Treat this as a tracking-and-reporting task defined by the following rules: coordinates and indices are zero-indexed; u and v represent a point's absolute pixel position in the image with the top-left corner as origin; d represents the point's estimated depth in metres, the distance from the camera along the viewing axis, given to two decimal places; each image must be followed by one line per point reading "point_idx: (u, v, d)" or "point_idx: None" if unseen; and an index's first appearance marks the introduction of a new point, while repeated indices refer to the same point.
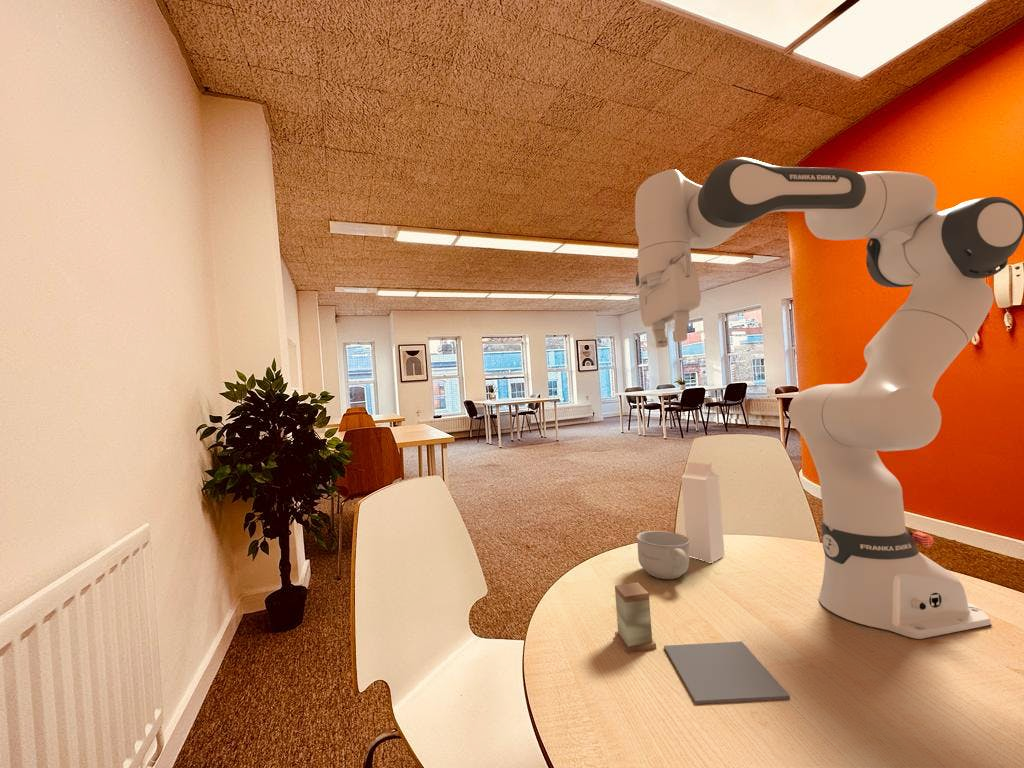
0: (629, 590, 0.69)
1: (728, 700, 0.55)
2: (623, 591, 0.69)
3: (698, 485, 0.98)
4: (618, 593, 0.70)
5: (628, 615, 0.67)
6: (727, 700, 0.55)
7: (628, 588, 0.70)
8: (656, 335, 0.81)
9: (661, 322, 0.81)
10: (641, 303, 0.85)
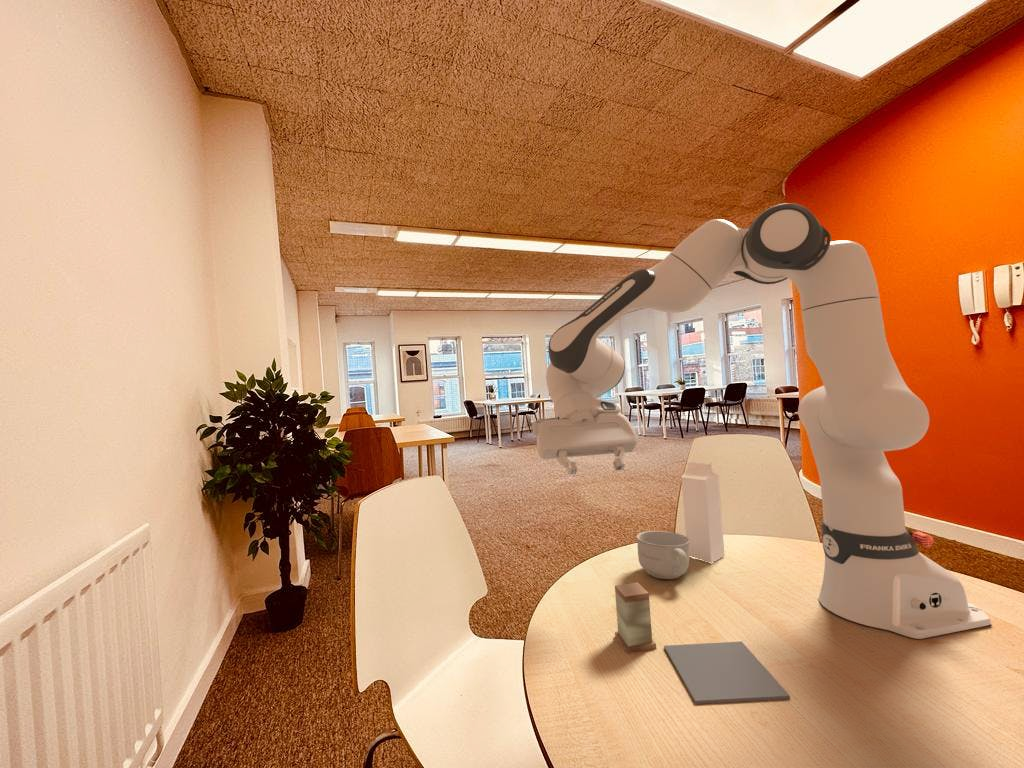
0: (629, 590, 0.69)
1: (728, 700, 0.55)
2: (623, 591, 0.69)
3: (698, 485, 0.98)
4: (618, 593, 0.70)
5: (628, 615, 0.67)
6: (727, 700, 0.55)
7: (628, 588, 0.70)
8: None
9: (614, 447, 0.86)
10: None
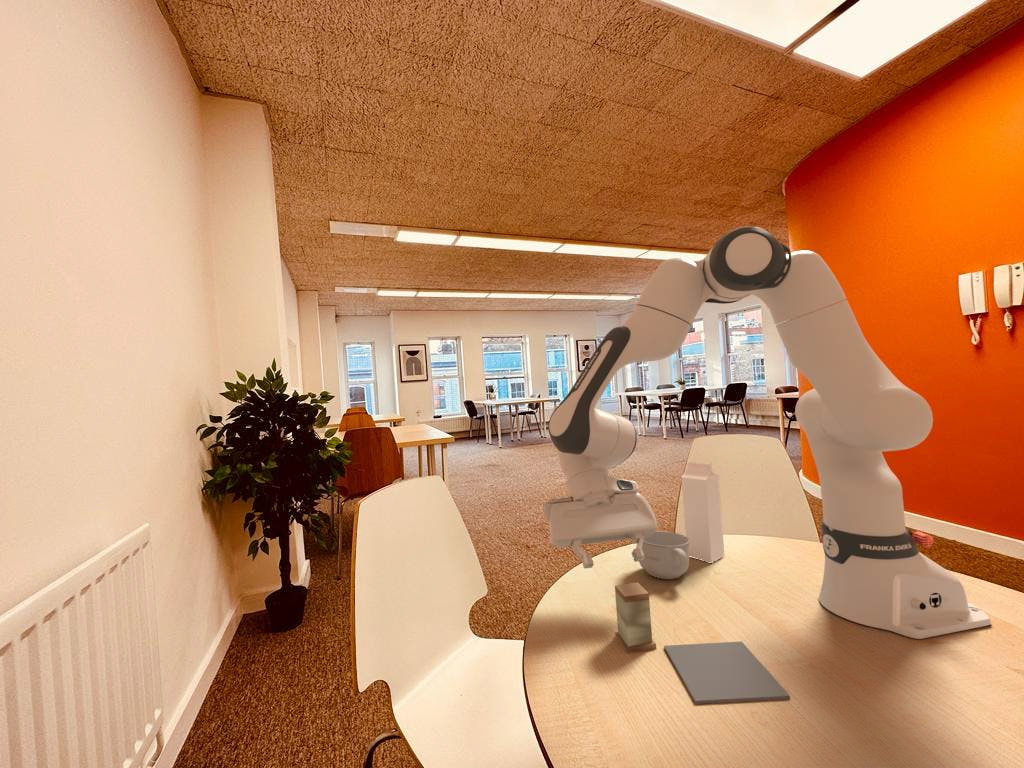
0: (629, 590, 0.69)
1: (728, 700, 0.55)
2: (623, 591, 0.69)
3: (698, 485, 0.98)
4: (618, 593, 0.70)
5: (628, 615, 0.67)
6: (727, 700, 0.55)
7: (628, 588, 0.70)
8: None
9: (633, 534, 0.80)
10: None
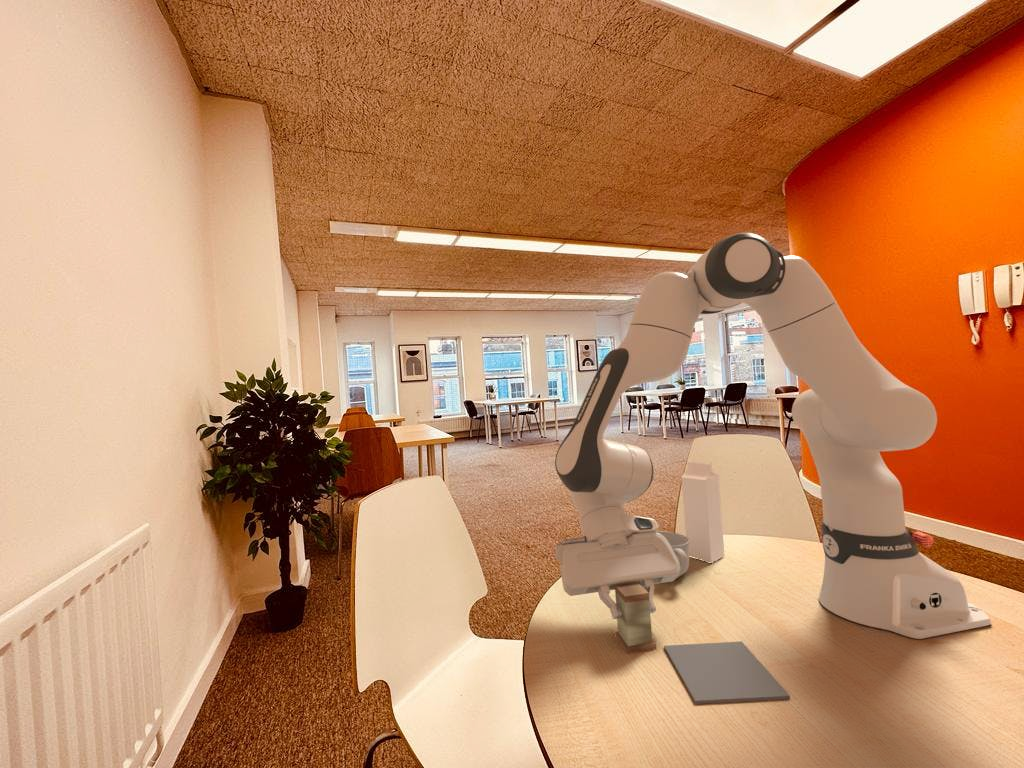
0: (629, 590, 0.69)
1: (728, 700, 0.55)
2: (623, 590, 0.69)
3: (698, 485, 0.98)
4: (618, 593, 0.70)
5: (628, 615, 0.67)
6: (727, 700, 0.55)
7: (628, 588, 0.70)
8: None
9: (642, 581, 0.72)
10: None
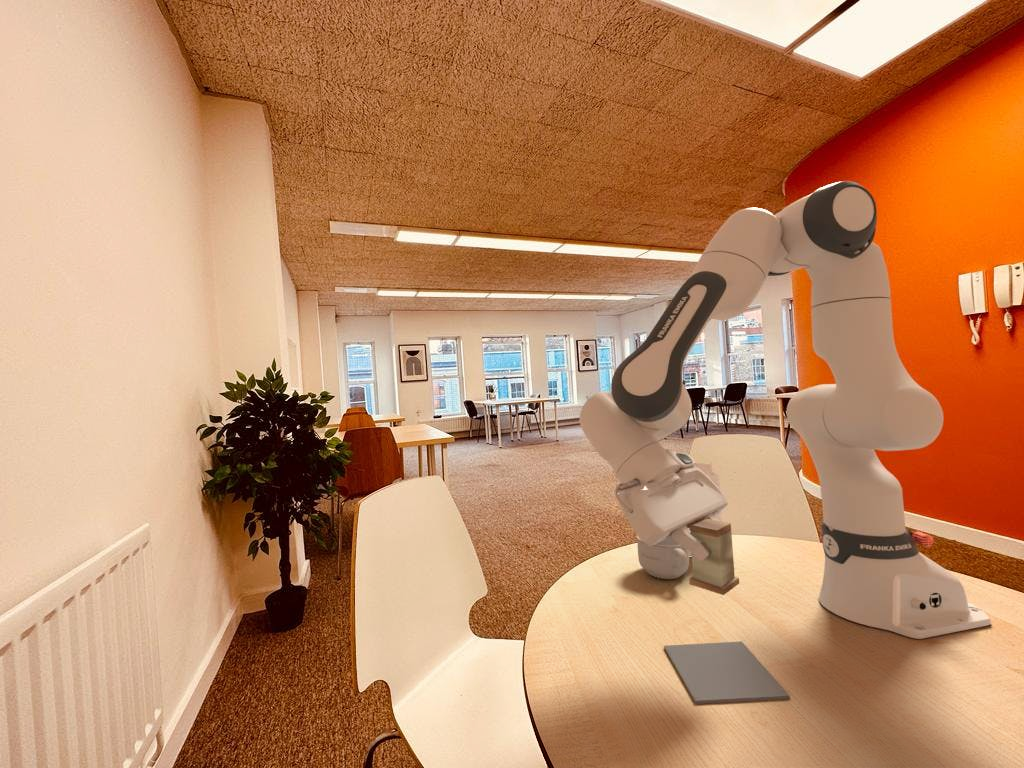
0: (710, 525, 0.61)
1: (728, 700, 0.55)
2: (706, 526, 0.61)
3: None
4: (700, 530, 0.61)
5: (720, 551, 0.59)
6: (727, 700, 0.55)
7: (706, 524, 0.62)
8: None
9: (704, 517, 0.65)
10: None
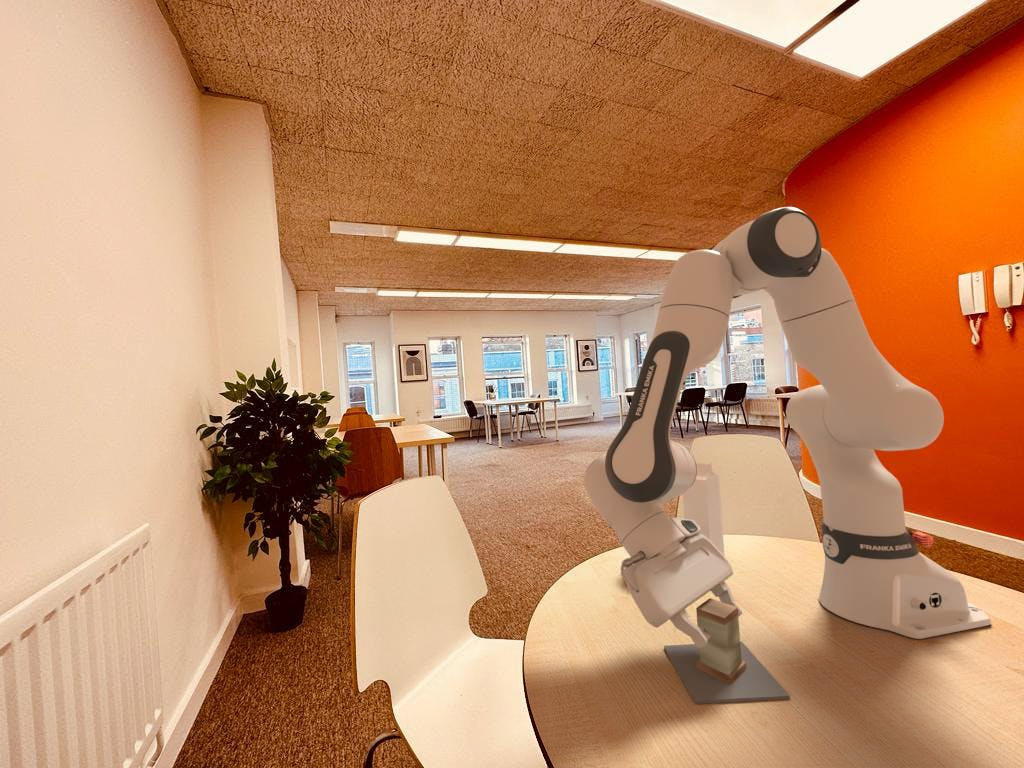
0: (717, 609, 0.61)
1: (728, 700, 0.55)
2: (713, 611, 0.60)
3: (698, 485, 0.98)
4: (707, 615, 0.60)
5: (727, 639, 0.59)
6: (727, 700, 0.55)
7: (713, 607, 0.61)
8: None
9: (716, 585, 0.66)
10: None
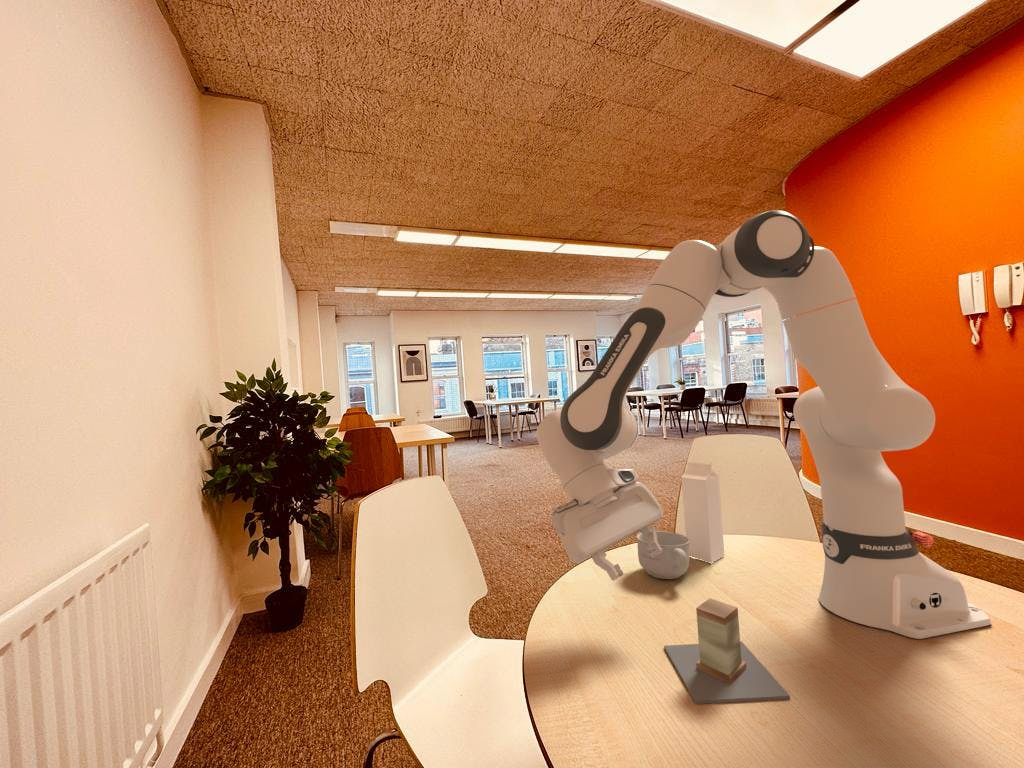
0: (717, 609, 0.61)
1: (728, 700, 0.55)
2: (713, 611, 0.60)
3: (698, 485, 0.98)
4: (707, 615, 0.60)
5: (727, 639, 0.59)
6: (727, 700, 0.55)
7: (713, 607, 0.61)
8: (648, 542, 0.75)
9: (644, 527, 0.75)
10: None
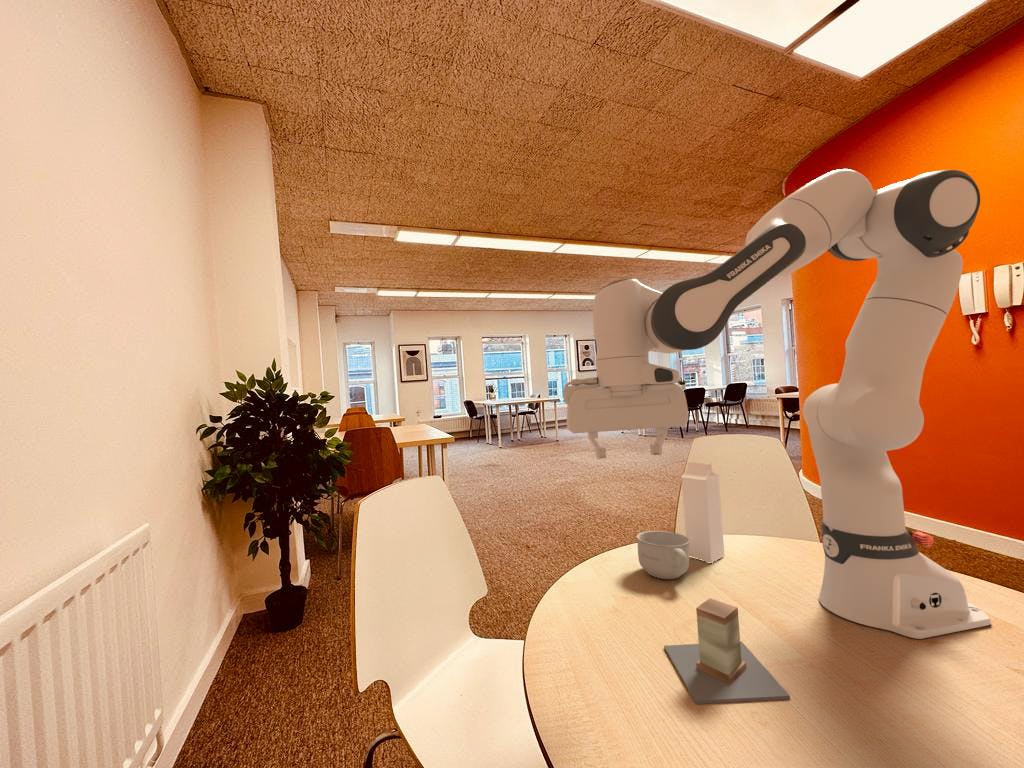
0: (717, 609, 0.61)
1: (728, 700, 0.55)
2: (713, 611, 0.60)
3: (698, 486, 0.98)
4: (707, 615, 0.60)
5: (727, 639, 0.59)
6: (727, 700, 0.55)
7: (713, 607, 0.61)
8: (656, 440, 0.75)
9: None
10: None
